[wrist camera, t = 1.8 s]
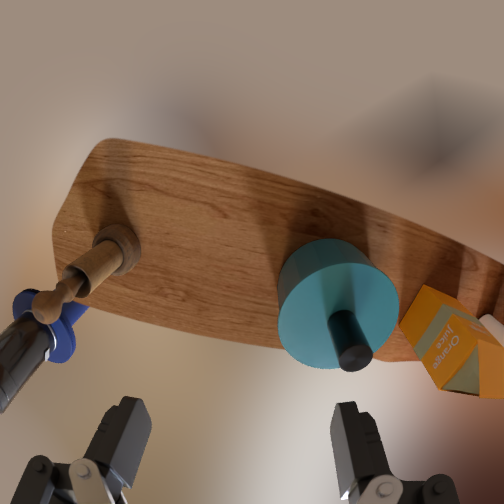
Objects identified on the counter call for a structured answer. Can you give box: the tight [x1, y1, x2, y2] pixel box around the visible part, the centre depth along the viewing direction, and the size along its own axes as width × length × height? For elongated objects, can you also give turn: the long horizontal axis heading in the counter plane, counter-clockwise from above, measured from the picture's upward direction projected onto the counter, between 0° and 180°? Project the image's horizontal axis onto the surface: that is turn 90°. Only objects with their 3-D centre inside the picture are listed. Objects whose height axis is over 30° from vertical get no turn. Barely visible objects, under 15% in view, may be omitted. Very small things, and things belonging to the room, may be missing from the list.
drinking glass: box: [479, 314, 504, 347], centre depth 32 cm, size 7×7×15 cm
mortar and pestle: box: [32, 224, 141, 324], centre depth 28 cm, size 7×6×18 cm
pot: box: [277, 239, 375, 310], centre depth 33 cm, size 13×13×8 cm
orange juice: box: [398, 284, 504, 399], centre depth 29 cm, size 8×9×20 cm
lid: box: [278, 261, 399, 372], centre depth 26 cm, size 13×13×7 cm
